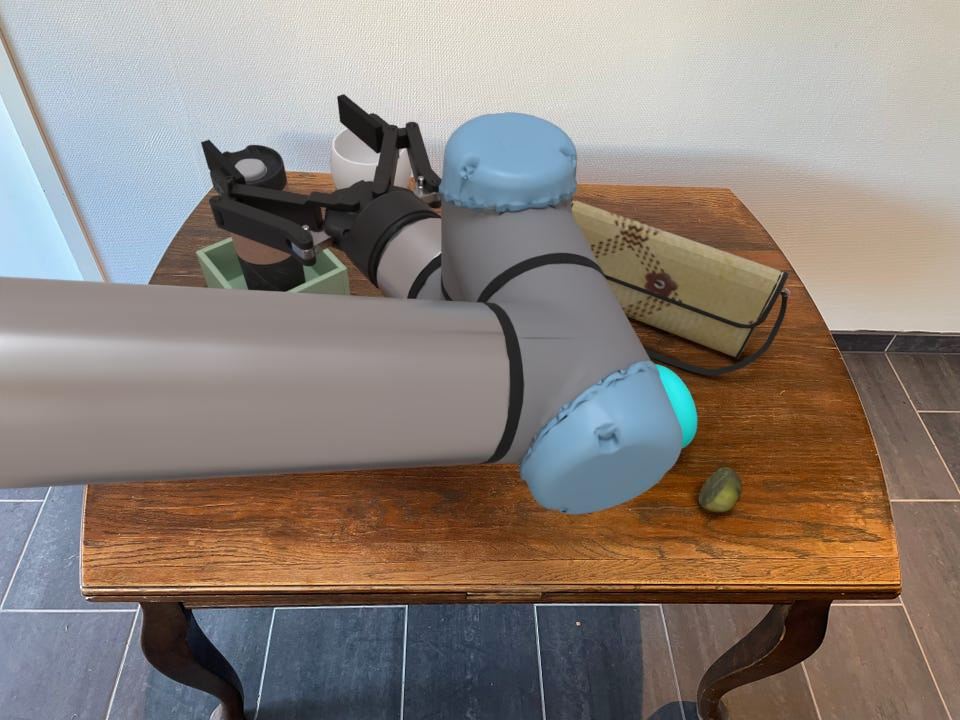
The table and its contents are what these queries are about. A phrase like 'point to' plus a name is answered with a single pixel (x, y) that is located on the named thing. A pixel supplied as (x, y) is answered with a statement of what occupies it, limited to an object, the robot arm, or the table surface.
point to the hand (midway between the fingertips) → (278, 129)
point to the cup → (361, 162)
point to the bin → (319, 278)
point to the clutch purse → (683, 285)
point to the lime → (721, 490)
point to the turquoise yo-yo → (680, 403)
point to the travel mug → (256, 259)
